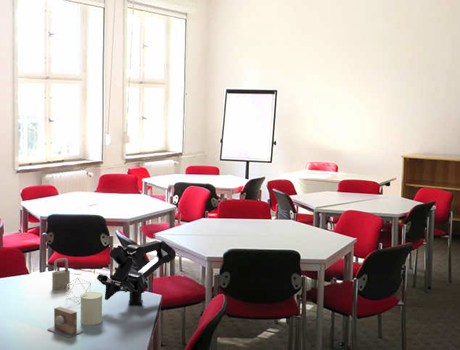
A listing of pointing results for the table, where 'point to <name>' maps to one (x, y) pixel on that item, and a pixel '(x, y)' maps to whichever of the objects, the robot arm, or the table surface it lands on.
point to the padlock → (60, 276)
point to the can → (91, 308)
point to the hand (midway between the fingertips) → (105, 299)
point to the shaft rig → (65, 322)
